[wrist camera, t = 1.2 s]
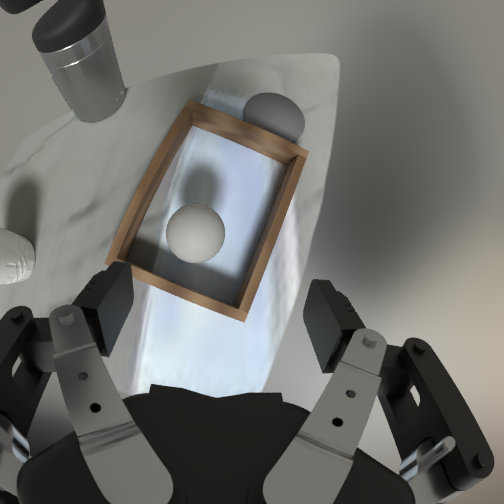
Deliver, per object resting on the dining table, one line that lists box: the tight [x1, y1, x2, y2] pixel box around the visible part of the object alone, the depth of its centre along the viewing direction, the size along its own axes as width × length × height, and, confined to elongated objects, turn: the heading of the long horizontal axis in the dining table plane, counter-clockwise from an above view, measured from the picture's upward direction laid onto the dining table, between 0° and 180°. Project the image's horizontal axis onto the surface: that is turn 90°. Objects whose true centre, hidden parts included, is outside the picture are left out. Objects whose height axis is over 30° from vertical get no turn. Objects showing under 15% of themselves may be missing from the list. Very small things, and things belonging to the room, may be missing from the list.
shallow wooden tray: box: [105, 100, 309, 322], centre depth 34 cm, size 18×24×4 cm
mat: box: [244, 93, 305, 143], centre depth 39 cm, size 10×10×1 cm
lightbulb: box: [166, 204, 225, 263], centre depth 30 cm, size 6×6×11 cm
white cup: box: [0, 228, 35, 285], centre depth 25 cm, size 8×8×10 cm
